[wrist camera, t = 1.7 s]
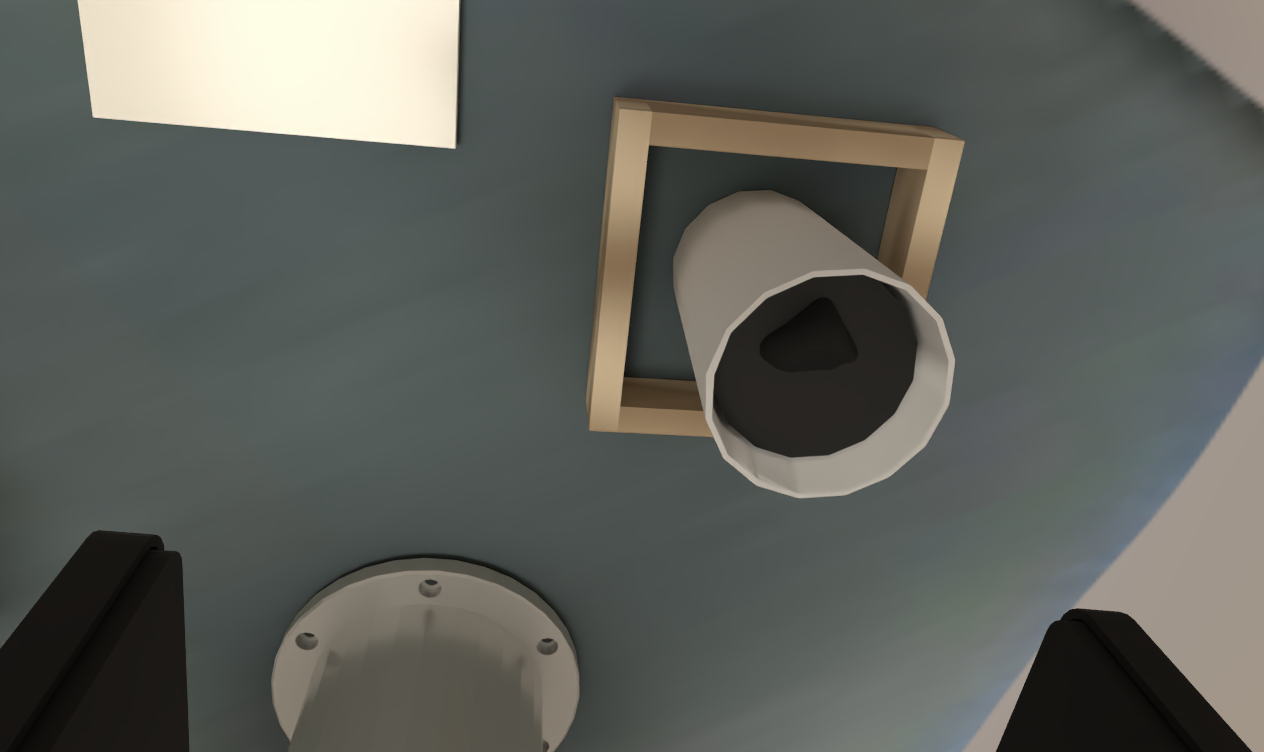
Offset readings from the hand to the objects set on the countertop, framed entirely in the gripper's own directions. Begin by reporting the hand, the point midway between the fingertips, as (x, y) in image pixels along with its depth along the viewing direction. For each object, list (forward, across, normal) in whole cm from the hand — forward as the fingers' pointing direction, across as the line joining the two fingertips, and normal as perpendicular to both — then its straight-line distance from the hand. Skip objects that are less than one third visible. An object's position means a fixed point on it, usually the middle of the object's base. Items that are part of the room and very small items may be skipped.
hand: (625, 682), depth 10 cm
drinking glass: (+24, -7, +2) cm, 25 cm away
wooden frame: (+24, -7, +2) cm, 25 cm away
